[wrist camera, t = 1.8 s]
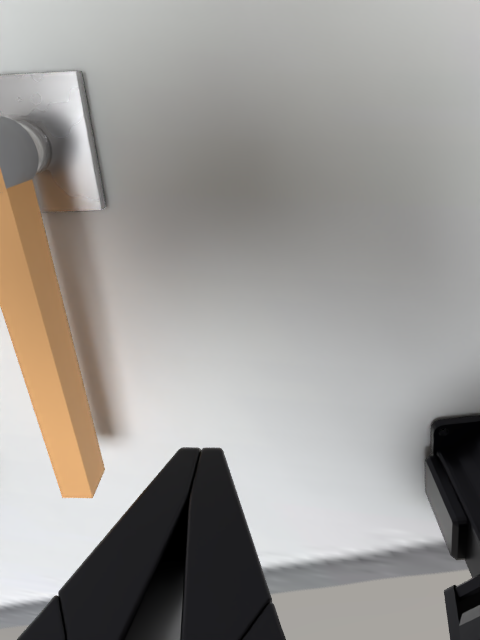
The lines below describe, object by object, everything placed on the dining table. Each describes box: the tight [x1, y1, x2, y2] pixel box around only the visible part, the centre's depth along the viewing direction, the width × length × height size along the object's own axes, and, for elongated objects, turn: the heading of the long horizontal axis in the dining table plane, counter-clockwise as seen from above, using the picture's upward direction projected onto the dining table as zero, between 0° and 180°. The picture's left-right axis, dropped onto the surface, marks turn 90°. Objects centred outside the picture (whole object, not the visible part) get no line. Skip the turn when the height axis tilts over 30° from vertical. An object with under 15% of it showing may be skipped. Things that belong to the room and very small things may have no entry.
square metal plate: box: [0, 71, 106, 212], centre depth 17 cm, size 5×5×2 cm
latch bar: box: [0, 116, 105, 498], centre depth 18 cm, size 2×17×2 cm, turn 3°
